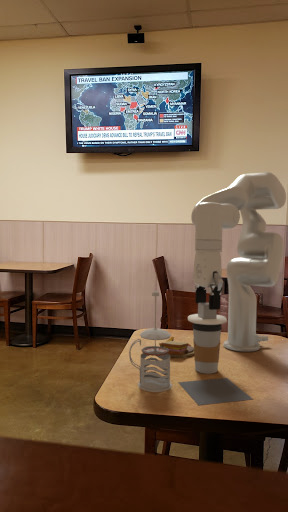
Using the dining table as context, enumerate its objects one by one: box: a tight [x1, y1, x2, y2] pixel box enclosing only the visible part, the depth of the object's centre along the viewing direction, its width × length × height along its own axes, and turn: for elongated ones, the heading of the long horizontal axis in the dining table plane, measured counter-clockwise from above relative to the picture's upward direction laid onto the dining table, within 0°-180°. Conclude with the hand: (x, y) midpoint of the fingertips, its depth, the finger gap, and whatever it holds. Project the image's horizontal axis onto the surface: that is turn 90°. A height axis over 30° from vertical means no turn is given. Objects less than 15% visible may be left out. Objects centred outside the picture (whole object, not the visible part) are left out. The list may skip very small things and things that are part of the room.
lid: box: [187, 301, 228, 325], centre depth 110 cm, size 11×11×5 cm
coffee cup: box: [192, 323, 222, 375], centre depth 110 cm, size 8×8×15 cm
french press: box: [128, 290, 173, 393], centre depth 99 cm, size 10×12×25 cm
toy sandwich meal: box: [158, 336, 194, 358], centre depth 129 cm, size 12×14×5 cm
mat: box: [178, 377, 254, 406], centre depth 96 cm, size 14×14×1 cm
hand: (207, 306), depth 110 cm, fingers open, 9 cm apart
